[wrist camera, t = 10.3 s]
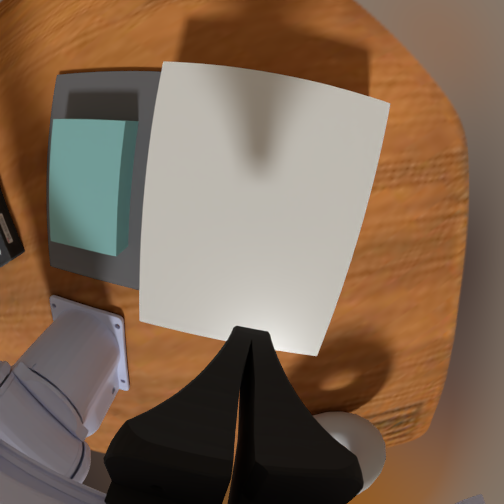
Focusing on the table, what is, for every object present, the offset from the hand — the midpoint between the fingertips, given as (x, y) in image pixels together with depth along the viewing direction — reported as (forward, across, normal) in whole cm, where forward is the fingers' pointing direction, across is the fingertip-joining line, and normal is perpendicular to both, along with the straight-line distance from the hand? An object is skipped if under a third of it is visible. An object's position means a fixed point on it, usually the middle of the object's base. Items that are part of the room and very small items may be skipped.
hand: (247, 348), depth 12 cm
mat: (+10, +12, -3) cm, 17 cm away
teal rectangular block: (+8, +12, -3) cm, 15 cm away
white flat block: (+10, +1, -3) cm, 11 cm away
